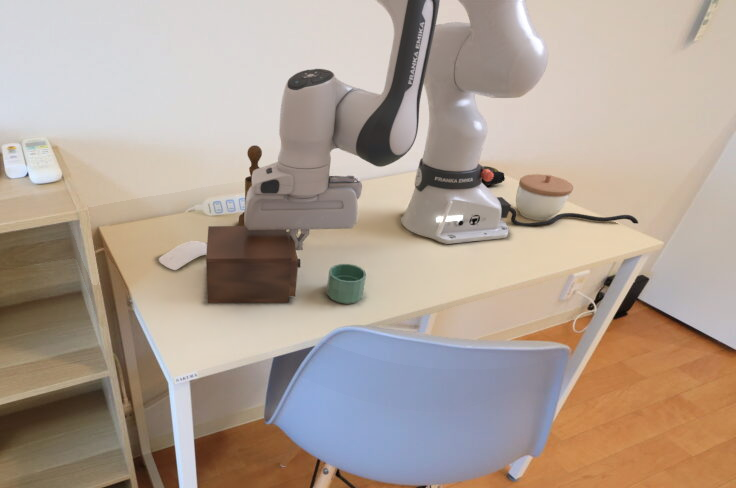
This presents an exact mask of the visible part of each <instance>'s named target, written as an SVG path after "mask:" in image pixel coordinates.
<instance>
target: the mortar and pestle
mask: <svg viewBox="0 0 736 488" xmlns="http://www.w3.org/2000/svg"><path fill="white" fill-rule="evenodd" d="M246 154H247V158H248V160H249V161H250V166H249V168H248V170H249V171H248V172H249V175H250V176H247V177H245V178H244V203H245V202H246V197H247V192H248V190H249V188H250V187H251V186H252V173H253V171H254V170H256V169H258V168H261V167H260V166H259V161H260V160H261V158H262V155H263V150H262V149H261V147H260V146H258V145H255V144H254V145H251V146H250V147H249V148H248V149H247V153H246ZM238 226H245V225H244V211H243V212H242V213H240V215H239V216H238Z"/></svg>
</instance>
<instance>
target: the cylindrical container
mask: <svg viewBox="0 0 736 488" xmlns="http://www.w3.org/2000/svg"><path fill="white" fill-rule="evenodd" d="M366 278H367V273H366V271H365V269H363V268H362V267H360V266H358V265H355V264H350V263H339V264H335V265H333V266H331V267H330V268H329V270H328V277H327V284H326V294H327V296H328V298H330V299H331V300H332V301H334V302H335V303H339V304H344V305H349V304H350V305H351V304H354V303H357V302H358V301H359V300H361V299H362V298H363V295H364V289H365V284H366Z"/></svg>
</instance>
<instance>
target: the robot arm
mask: <svg viewBox="0 0 736 488" xmlns="http://www.w3.org/2000/svg"><path fill="white" fill-rule="evenodd" d="M457 1H458V2H459V3H460V4H461V6H462V7H463V8H464V10H465V12H466V14H467V17H468V21H469V22H462V21H452V22H444V23H439V24H437V20H438V13H439V8H440V2H441V1H440V0H375V2H377V4H379V5H380V6H382V8H384V10H385V11H386V12H387V14H388V15H389V17H390V19H391V21H392V26H393V39H392V45H391V50H390V55H389V61H388V67H387V72H386V77H385V82H384V87H383V91H382V92H381V94H380V93H377V92H376V93H375V92H372V91H368V90H365V89H364V88H363V89H362V88H360V87H355V86H352V85H350V84H347V83H345V82H344V81H343V82H342V81H341V80H339V78H337V77H336V76H335V73H334V72H332V71H331V70H329V69H325V68H311V69H305V70H301V71H299V72H296V73H295V74H293V75H292V76H290V77H289V78H288V80H287V81H286V84H285V86H284V89H283V93H282V98H281V104H280V110H279V111H280V113H279V126H278V127H279V129H278V130H279V131H278V133H279V134H278V135H279V138H280V139H279V140H280V149H279V152H278V155H277V161H276V162H274V163H273V162H272V163H271V164H268V165H265V166H261V167H260V168H258V169H256V170H254V171H253V173H252V186H251V187H250V188H249V190H248V192H247V197H246V202H245V201H244V211H243V212H244V225H245V227H246V228H247V229H248V230H287V231H290V235H291V237H292V239H294V244H295V248H296V251H303V249H304V247H303V246H304V242H305V240H307V238H308V236H309V235H310V230H351V229H353V228H354V227H355V226H356V225H357V224H358V223H357V222H358V213H359V212H358V206H359V205H358V200H359V199H360V198H361V195H362V189H363V183H362V182H361V180H360V179H359V178H357V177H356V176H355V175H345V176H344V175H330V170H331V161H332V155H331V153H332V151H333V150H335V149H339V150H341V151H343V152H345V153H348V154H351V155H354V156H357V157H359V158H360V159H362V160H363V161H365V162H368V163H369V164H371V165H372V166H375V167H378V168H380V167H381V168H383V167H386V166H388V165H390V164H391V165H392V164H394V163H395V162H397V161H398V160H400V159H401V158H403V157H404V156H405V155H406V154H407V153H408V152H409V151H410V150H412V147H414V146H413V145H414V144H415V141H416V139H417V137H418V136H417V135H418V131H419V123H420V122H419V121H420V107H421V106H420V105H421V103H420V102H421V97H422V92H423V89H424V90H425V94H426V98H427V105H428V128H427V133H426V139H425V145H424V150H423V154H422V157H421V158H420V160H419V163H418V167H417V169H416V173H415V179H414V189H413V193H412V195H411V198H410V200H409V203H408V205H407V208H406V209H405V211H404V213H403V215H402V217H401V218H400V222H401V225H402V226H403V228H405V229H406V230H408V231H409V232H411V233H413V234H416V235H419V236H422V237H425V238H429V239H432V240H435V241H436V242H438V243H441V244H445V245H450V244H451V245H452V244H461V243H469V242H470V243H471V242H479V241H489V240H498V239H506V238H507V237H508V235H509V227H508V225H507V223H506V222H505V221H504V220H503V219H507V218H508V216H509V212H510V213H511V217H510V222H511V223H512V224H513V225H514V226H519V227H530V228H531V227H533V228H534V227H541V226H547V225H552V224H554V223H556V222H557V221H558V220H560V219H562V218H575V219H580V220H588V221H593V222H603V223H604V222H612V221H619V220H628V221H631V223H633V224H639V221H638V219H637V218H636V217H634V216H633V215H630V214H619V215H614V216H608V217H607V216H606V217H603V216H593V215H588V214H582V213H575V212H563V213H559V214H556V215H554V217H552V218H551V219H547V220H540V221H535V222H520V221H519V220H517V219H516V218H517V216H518V212H517V210H516V209H515V208H514V207H512V204H511V203H510V202H508V201H507V200H506V199H505V198H503V196H496V195H495V194H494V193H493V192H492V191H491V190H490V189H489V188H488V186H485V185H484V184H483V183H482V178H483V179H484V180H485V181H487V182H488V181H491V180H490V179H493V178H492V177H494V176H493V175H494V174H493V172H491V171H490V170H489V169H485V168H484V167H483V166H484V165H482V164H480V163H479V162H480V159H481V155H482V153H483V148H484V146H485V142H486V139H487V135H488V123H487V120H486V119H485V117H484V116H483V115H482V113H481V112H480V110H479V109H478V106H477V101H476V95H478V96H483V97H487V98H492V99H514V98H515V99H517V98H521V97H523V96H525V95H527V94H528V93H529V92H530V91H532V90H533V89H534V88H535V87H536V86H537V85H538V84H539V82H540V81H541V80H542V78H543V76H544V73H545V71H546V69H547V67H548V61H549V50H548V45H547V42H546V41H545V39H544V38H543V37H542V36H541V35H540V34H539V32H538V31H537V29H536V28H535V26H534V23H533V21H532V19H531V16H530V13H529V9H528V5H527V0H457ZM423 87H424V88H423ZM299 230H300V233H299ZM298 234H299V235H298ZM297 235H298V236H297Z"/></svg>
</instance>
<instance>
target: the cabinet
mask: <svg viewBox="0 0 736 488" xmlns="http://www.w3.org/2000/svg"><path fill="white" fill-rule="evenodd" d="M287 231H288V230H248V229H247V228H246V227H245V226H239V225H208V228H207V239H206V240H207V242H206V244H207V253H206V255H205V266H206V267H205V268H206V269H205V270H206V293H207V304H257V303H259V304H260V303H261V304H263V303H264V304H265V303H266V304H267V303H270V304H272V303H273V304H275V303H278V304H279V303H280V304H281V303H284V304H286V303H289V302H290V301H289V300H290V296H289V290H290V277H291V263H292V256H291V251H290V246H289V241H288V236H287Z"/></svg>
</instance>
